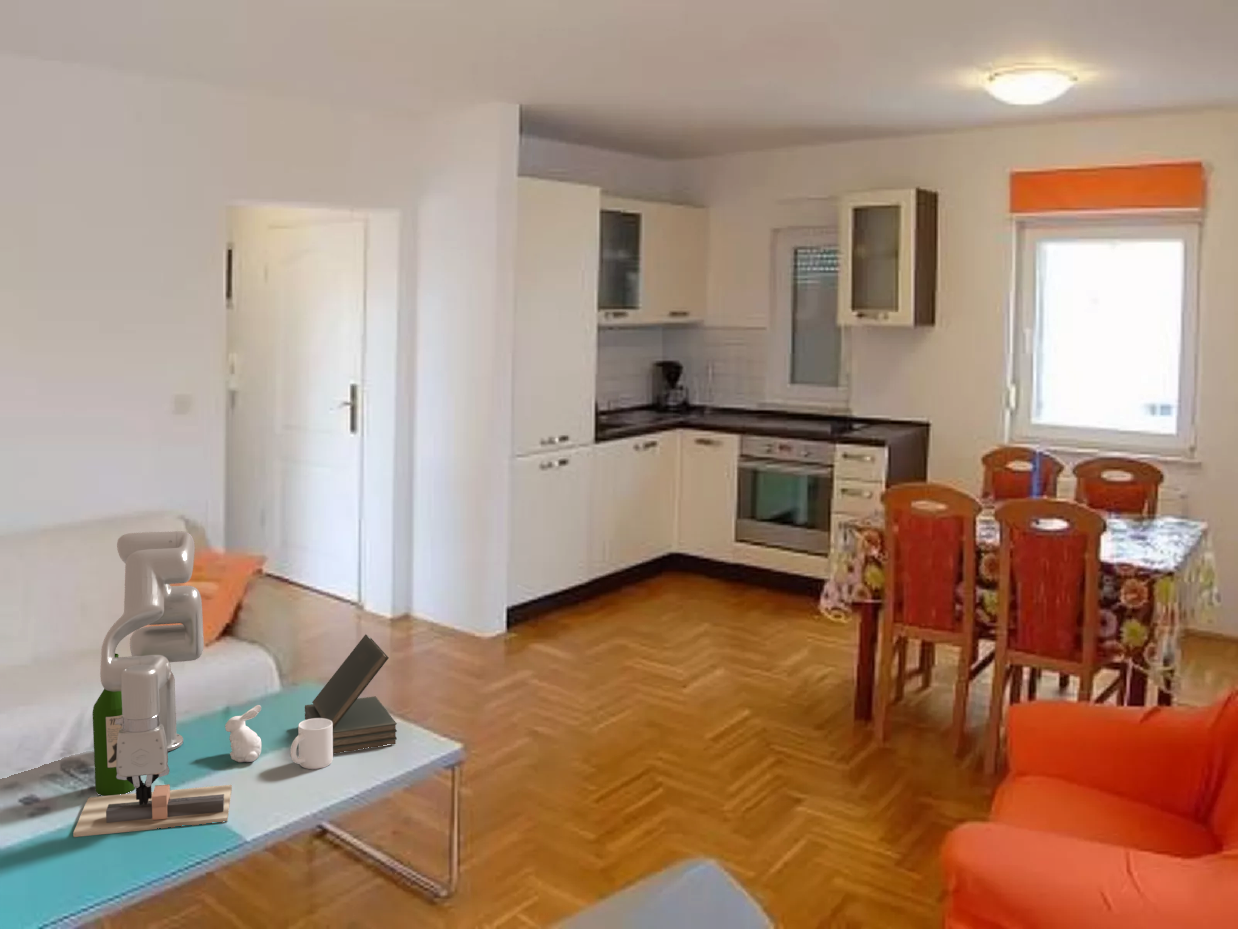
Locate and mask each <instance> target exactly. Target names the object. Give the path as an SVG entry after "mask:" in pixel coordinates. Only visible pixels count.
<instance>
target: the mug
mask: <svg viewBox="0 0 1238 929" xmlns="http://www.w3.org/2000/svg"><path fill="white" fill-rule="evenodd" d="M297 727H298V732H297V733H298V735H297V736H295V738H294V740H292V743H291V746H290V758H291V761H292V762H294V763H295V764H296V765H297V764H299V766H301V767H302V768H304V769H307V770H320V769H323V768H326V767H329V766H330V765H331V764H332V763H333V761H334V760H333V759H334V754H333V723H332V721H331V720H329V719H325V718H313V719H307V720H301V721H300V722H299V723H298V726H297ZM297 748H298V755H297Z"/></svg>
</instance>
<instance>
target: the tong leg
mask: <svg viewBox="0 0 1238 929" xmlns="http://www.w3.org/2000/svg"><path fill="white" fill-rule="evenodd" d="M221 797H224V794H221V795H209V796H198V797H186V798H175V799H169V800H168V802H178V801H189V800H200V799H210V798H221ZM147 804H152V801H148V803H147ZM134 805H139V802H129V803H118V804H109V805H108V807H107V808H113V807H123V806H134ZM142 805H145V804H144V802H143V804H142Z"/></svg>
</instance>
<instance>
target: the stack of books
mask: <svg viewBox="0 0 1238 929" xmlns="http://www.w3.org/2000/svg"><path fill="white" fill-rule="evenodd" d="M388 660H389V656H388V655H387V654H386V653H385V652H384V650H383V649H382V648H381V647H380V646H379V645H378V644H377V643H376V642H375V641H374V640H373V638H372V637H370V636H369V635H368V634H366V633H365V634H364V635H363V637H362V638H361V640H360V641H359V642H358V643H357V645H355V647H354V649H353V650H352V651H351V652H350V654H348V656H347V657H346V658H345V660H344V661H343V662H342V663H341V664H340V666H339V668H337V670H336V671H335V672H334V673H333V675H332V676H331V677H330V679H328V682H326V684H324V686H323V688H322V689H321V690H320V691H319V693H318V694H317V695H316V696H315V697H314V699H313V700H312V702H311V703H312V704H305V705H304V719H305V720H307V719H313V718H325V719H329V720H331V721H332V723H333V755H334V753H336V754H341V753H340V752H343V753H345V752H344V751H350V752H355V751H354V750H356V751H359V750H358V749H363V748H364V749H363V750H366V749H365V748H368V747H369V748H370V749H372V748H371V747H377V748H379V747H378V746H383V745H387V744H397V743H396V742H397V741H396V740H397V736H396V735H397V734H396V733H397V732H398V730H397V729H396V728H397V727H396V725H397V722H396V721H395V719H394V718H393V717H392V715H391V714H390V713H389V712H388V710H387V709H386V708H385V706H384V705H383V704H382V703H381V701H380V700H379V699H378V697H377V696H374V695H373V696H367V697H366V696H365V697H360V696H361V695H362V693H363V692H364V691H365V689H366V688H367V687H368V685H370V683H371V682H372V681H373V680H374V677H375V676H377V674H378V673H379V672H380V670H381V669H382V668H383V666H384V665H385V664H386V663H387V661H388ZM383 747H384V746H383Z"/></svg>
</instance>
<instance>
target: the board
mask: <svg viewBox="0 0 1238 929" xmlns="http://www.w3.org/2000/svg"><path fill="white" fill-rule="evenodd" d="M232 785H233V784H226V785H223V784H222V785H215V786H213V785H212V786H202V787H191V788H179V789H170V799H175V798H186V797H198V796H209V795H221V794H224V797H221V798H210V799H200V800H189V801H178V802H168V804H167V819H157V820H152V804H145V805H134V806H123V807H113V808H107V807H108V805H109V804H118V803H129V802H139V800H136V792H133V793H127V794H121V795H110V796H100V795H98V796H90V797H87V800H86V802H85V804H84V807H83V809H82V811H81V814H80V816H79V818H78V821H77V823H76V826H75V827H74V830H73V832H72V833H73V838H78V837H89V836H98V835H109V834H118V833H128V832H129V833H130V832H141V831H150V830H160V829H159V828H161V829H169V828H168V827H171V828H176V827H175V826H181V827H183V826H182V825H192V826H199V824H202V825H207V824H206V823H212V822H222V823H224V822H223V821H227V822H228V819H229V812H230V806H229V805H230V804H231V797H232V791H233V790H232V789H233V786H232ZM152 795H153V791H152ZM148 801H152V797H151V799H149V800H148ZM212 824H213V823H212ZM157 828H158V829H157Z"/></svg>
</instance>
